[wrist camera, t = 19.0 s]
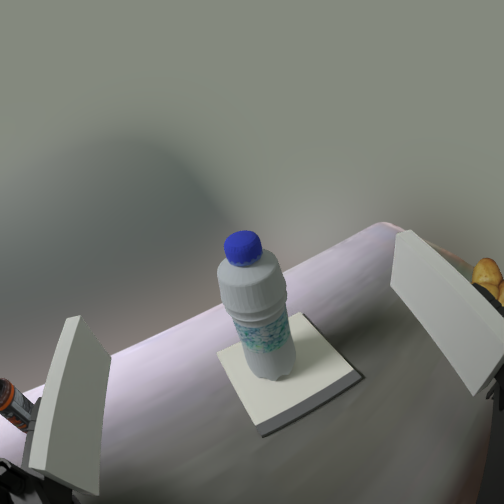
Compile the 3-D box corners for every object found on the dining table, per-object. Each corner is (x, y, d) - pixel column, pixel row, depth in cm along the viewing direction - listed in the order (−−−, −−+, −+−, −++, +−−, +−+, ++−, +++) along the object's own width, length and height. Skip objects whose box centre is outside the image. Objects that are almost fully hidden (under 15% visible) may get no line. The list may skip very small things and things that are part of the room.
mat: (262, 437, 29) (261, 435, 29) (217, 355, 41) (215, 352, 41) (361, 379, 33) (361, 377, 32) (300, 314, 45) (299, 311, 44)
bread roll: (527, 326, 29) (546, 287, 24) (502, 363, 26) (525, 324, 22) (474, 287, 39) (485, 248, 35) (444, 315, 37) (455, 274, 33)
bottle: (296, 342, 40) (273, 212, 29) (301, 382, 34) (279, 248, 23) (248, 349, 40) (207, 224, 30) (248, 389, 35) (197, 262, 24)
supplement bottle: (19, 436, 29) (-27, 397, 23) (23, 409, 34) (-18, 369, 28) (41, 434, 30) (-7, 394, 24) (44, 405, 35) (1, 364, 29)
